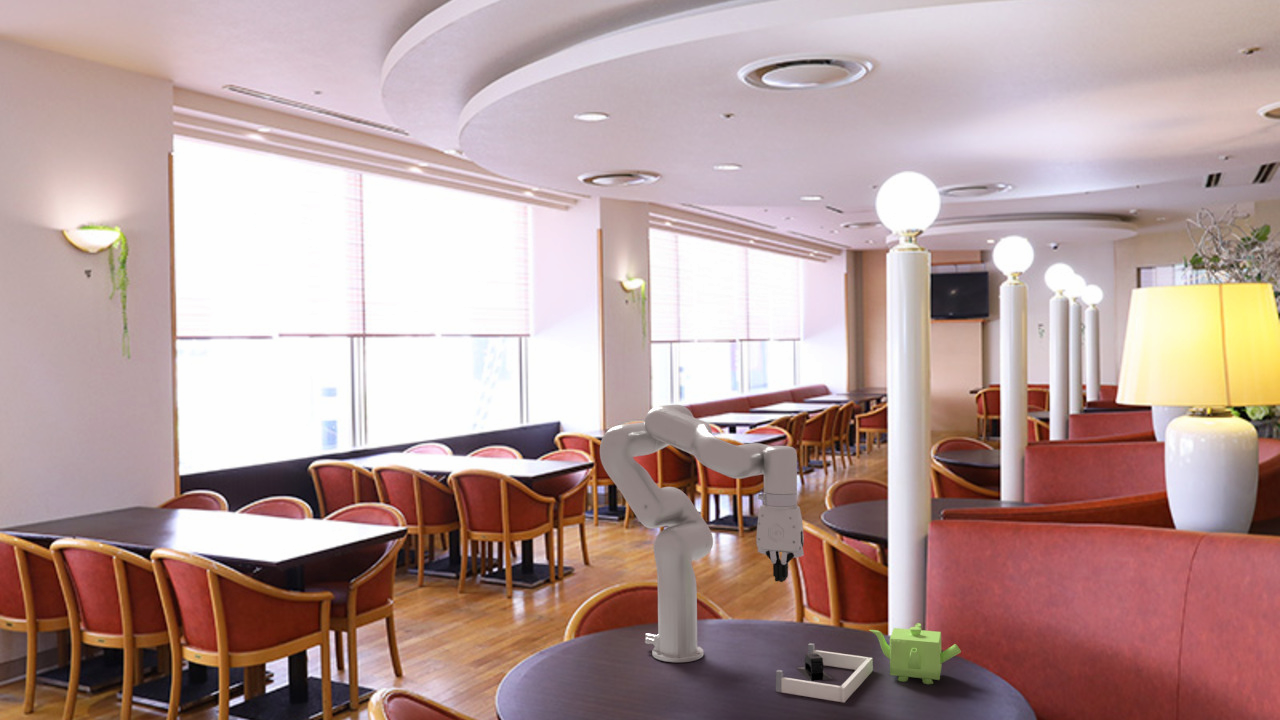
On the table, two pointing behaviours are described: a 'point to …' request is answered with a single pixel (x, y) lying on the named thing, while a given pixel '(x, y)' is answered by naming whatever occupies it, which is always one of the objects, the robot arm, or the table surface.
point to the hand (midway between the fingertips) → (780, 580)
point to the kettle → (915, 653)
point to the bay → (826, 690)
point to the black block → (814, 668)
